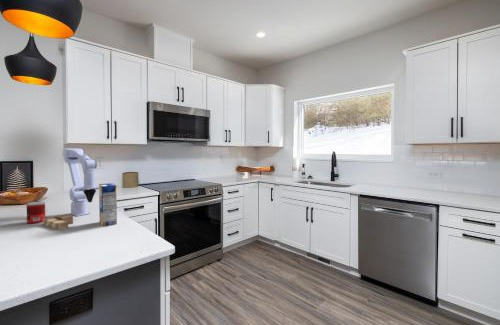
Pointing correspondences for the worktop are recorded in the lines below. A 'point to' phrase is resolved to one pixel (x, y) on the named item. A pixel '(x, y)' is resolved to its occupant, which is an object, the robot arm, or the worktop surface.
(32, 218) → the canned food
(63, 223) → the tan faceted bar
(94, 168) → the robot arm
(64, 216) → the walnut block
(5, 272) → the worktop surface
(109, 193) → the beverage box
